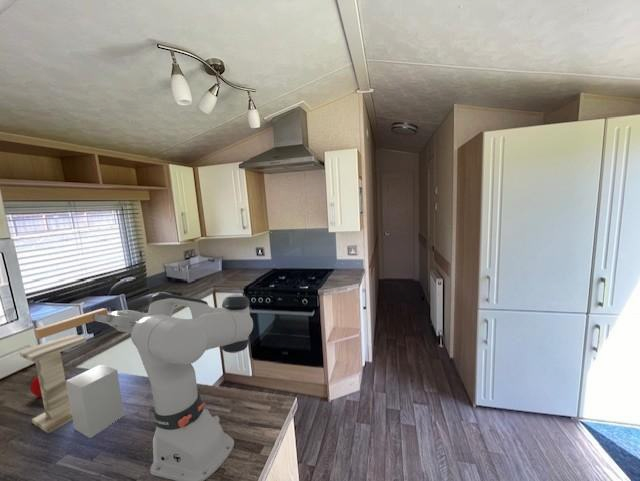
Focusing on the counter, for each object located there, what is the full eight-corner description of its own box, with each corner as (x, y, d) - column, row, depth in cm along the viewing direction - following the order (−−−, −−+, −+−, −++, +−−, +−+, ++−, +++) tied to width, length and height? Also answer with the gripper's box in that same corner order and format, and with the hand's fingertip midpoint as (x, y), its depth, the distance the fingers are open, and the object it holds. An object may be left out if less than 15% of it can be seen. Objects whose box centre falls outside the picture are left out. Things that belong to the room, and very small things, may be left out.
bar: (107, 316, 108) (106, 309, 108) (39, 338, 91) (38, 330, 90) (103, 315, 110) (102, 308, 109) (35, 337, 92) (34, 329, 92)
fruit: (56, 396, 108) (52, 373, 107) (26, 403, 105) (21, 379, 104) (68, 383, 117) (64, 361, 115) (41, 389, 113) (37, 366, 112)
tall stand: (98, 405, 101) (86, 338, 98) (48, 433, 89) (33, 358, 86) (81, 397, 107) (70, 333, 104) (32, 422, 94) (18, 351, 91)
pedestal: (124, 416, 95) (117, 369, 93) (90, 438, 86) (81, 387, 84) (108, 408, 99) (101, 364, 97) (74, 428, 90) (65, 380, 88)
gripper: (138, 331, 110) (101, 327, 99) (110, 325, 119) (74, 321, 108) (144, 315, 113) (109, 310, 101) (116, 310, 122) (81, 304, 110)
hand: (90, 315), depth 105 cm, fingers closed on bar, 3 cm apart
